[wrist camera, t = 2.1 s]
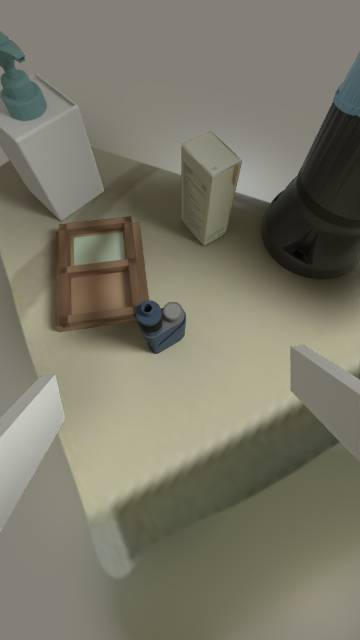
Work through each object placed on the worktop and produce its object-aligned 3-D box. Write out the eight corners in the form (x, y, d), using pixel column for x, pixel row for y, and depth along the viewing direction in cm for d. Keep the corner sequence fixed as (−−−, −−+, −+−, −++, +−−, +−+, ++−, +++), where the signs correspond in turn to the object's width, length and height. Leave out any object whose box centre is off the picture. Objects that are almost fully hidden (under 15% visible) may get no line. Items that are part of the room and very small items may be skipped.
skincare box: (226, 234, 42) (245, 162, 30) (203, 247, 41) (213, 178, 29) (202, 205, 43) (211, 128, 32) (179, 218, 43) (180, 142, 31)
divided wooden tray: (139, 227, 42) (137, 215, 39) (151, 319, 37) (149, 311, 34) (59, 236, 41) (52, 225, 39) (59, 331, 36) (50, 325, 33)
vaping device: (142, 341, 36) (127, 303, 24) (177, 321, 37) (178, 276, 25) (152, 357, 35) (141, 327, 24) (188, 337, 36) (193, 298, 25)
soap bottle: (62, 222, 42) (-23, 73, 24) (28, 190, 44) (-72, 31, 26) (106, 192, 44) (58, 35, 26) (72, 163, 46) (7, -1, 28)
